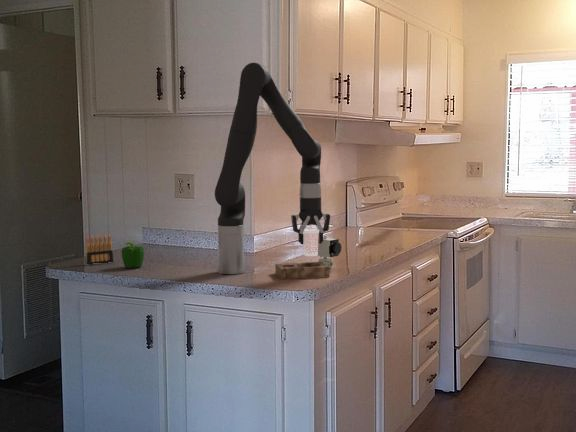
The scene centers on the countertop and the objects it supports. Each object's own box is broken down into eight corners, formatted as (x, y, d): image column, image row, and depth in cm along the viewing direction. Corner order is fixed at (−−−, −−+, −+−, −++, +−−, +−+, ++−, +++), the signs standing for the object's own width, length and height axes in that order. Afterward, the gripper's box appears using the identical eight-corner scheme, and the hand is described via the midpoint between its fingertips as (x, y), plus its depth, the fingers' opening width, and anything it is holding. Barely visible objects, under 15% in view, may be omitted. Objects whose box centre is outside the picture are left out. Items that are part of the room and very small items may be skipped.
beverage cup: (302, 256, 244) (302, 216, 243) (302, 254, 250) (301, 215, 249) (320, 256, 244) (319, 216, 243) (319, 253, 250) (318, 214, 249)
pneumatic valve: (316, 265, 267) (316, 234, 266) (341, 268, 260) (341, 236, 259) (307, 267, 263) (307, 235, 262) (333, 270, 256) (333, 238, 254)
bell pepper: (142, 265, 272) (141, 239, 271) (146, 268, 264) (145, 242, 263) (120, 266, 269) (119, 240, 268) (123, 270, 261) (122, 243, 260)
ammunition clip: (87, 265, 272) (85, 235, 270) (85, 265, 273) (84, 234, 272) (113, 262, 278) (112, 232, 277) (111, 262, 279) (110, 232, 278)
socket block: (281, 279, 240) (281, 269, 240) (275, 273, 251) (275, 263, 251) (329, 276, 244) (329, 266, 243) (321, 271, 254) (321, 261, 254)
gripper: (292, 197, 240) (293, 246, 242) (333, 196, 243) (333, 244, 245) (288, 196, 247) (288, 243, 249) (327, 194, 250) (327, 241, 252)
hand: (311, 243), depth 247 cm, fingers closed on beverage cup, 6 cm apart
